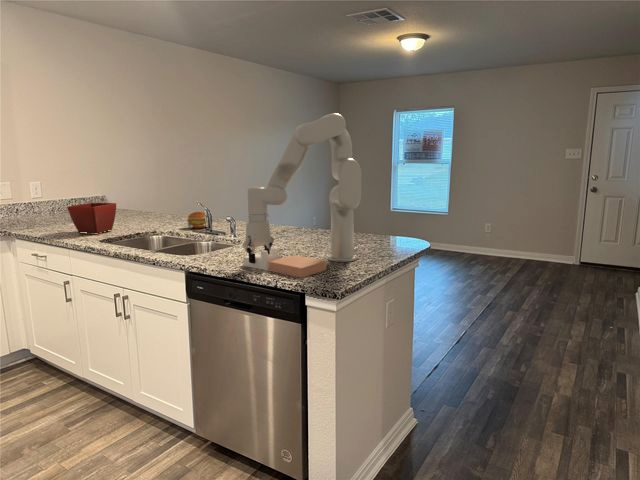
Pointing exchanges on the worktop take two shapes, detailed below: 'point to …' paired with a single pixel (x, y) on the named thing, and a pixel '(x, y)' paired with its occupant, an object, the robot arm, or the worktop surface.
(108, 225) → the plant pot
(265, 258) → the bracket
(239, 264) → the worktop surface
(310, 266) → the riser block
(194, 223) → the burger
